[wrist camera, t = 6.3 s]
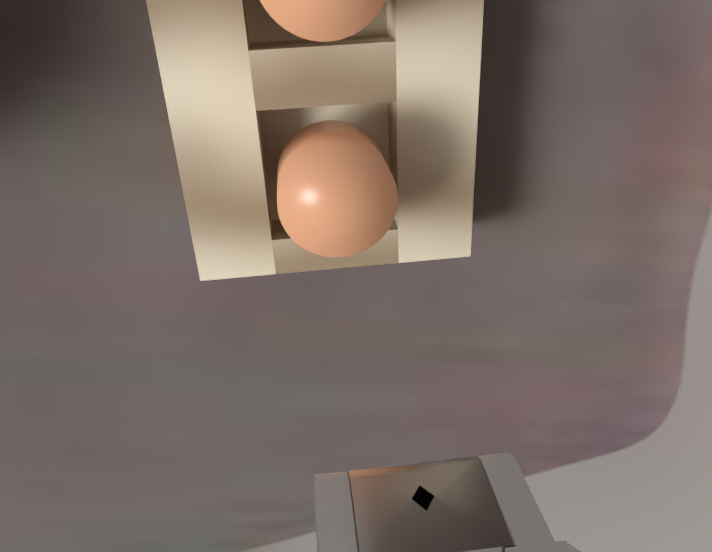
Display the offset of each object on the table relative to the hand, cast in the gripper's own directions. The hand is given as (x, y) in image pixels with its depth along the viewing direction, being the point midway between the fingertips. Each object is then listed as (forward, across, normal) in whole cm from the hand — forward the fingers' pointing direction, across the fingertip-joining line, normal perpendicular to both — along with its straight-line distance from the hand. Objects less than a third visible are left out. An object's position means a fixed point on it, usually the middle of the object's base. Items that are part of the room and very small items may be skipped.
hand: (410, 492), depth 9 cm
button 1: (+15, 0, 0) cm, 15 cm away
